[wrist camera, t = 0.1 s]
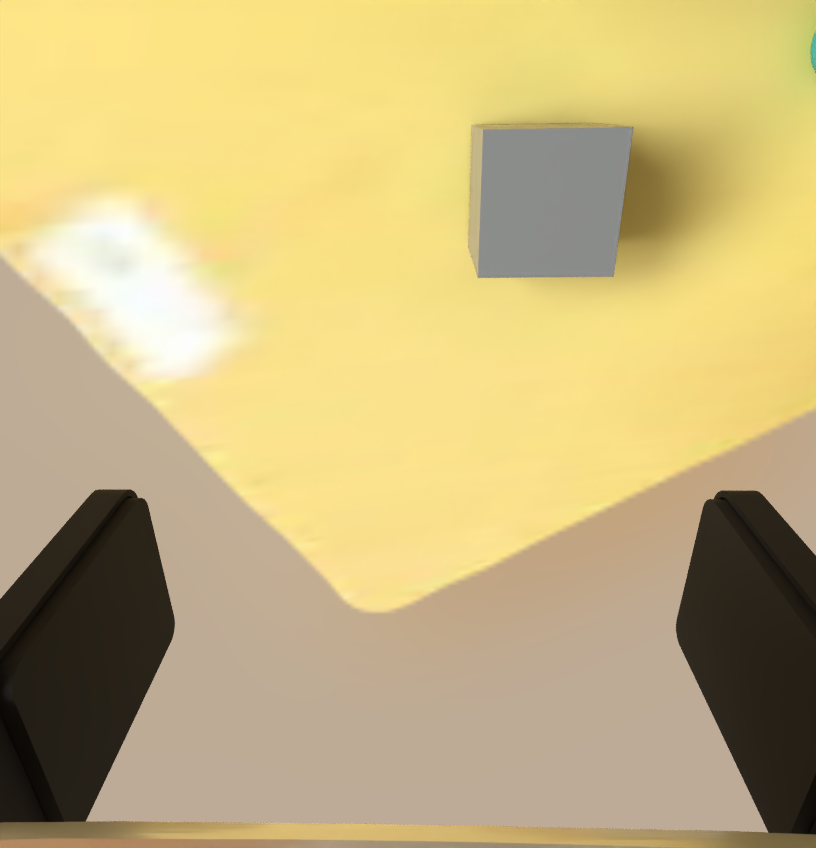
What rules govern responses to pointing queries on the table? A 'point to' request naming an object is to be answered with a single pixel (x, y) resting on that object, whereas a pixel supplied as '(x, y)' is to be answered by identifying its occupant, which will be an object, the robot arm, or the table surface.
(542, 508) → the table surface
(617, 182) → the grey tapered block
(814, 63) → the ball
